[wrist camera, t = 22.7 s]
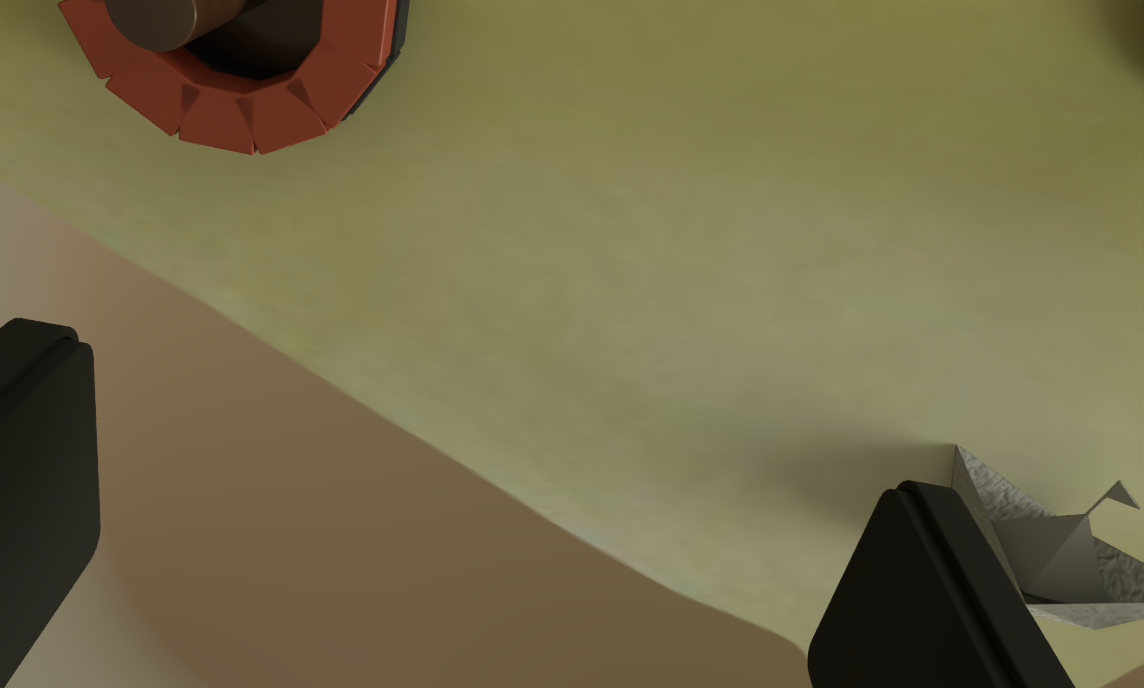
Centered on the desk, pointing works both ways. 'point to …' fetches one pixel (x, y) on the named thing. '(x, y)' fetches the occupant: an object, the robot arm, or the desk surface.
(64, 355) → the robot arm
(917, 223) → the desk surface
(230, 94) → the brick ring
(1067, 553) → the grey angular piece
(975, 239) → the desk surface
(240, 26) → the peg stand
